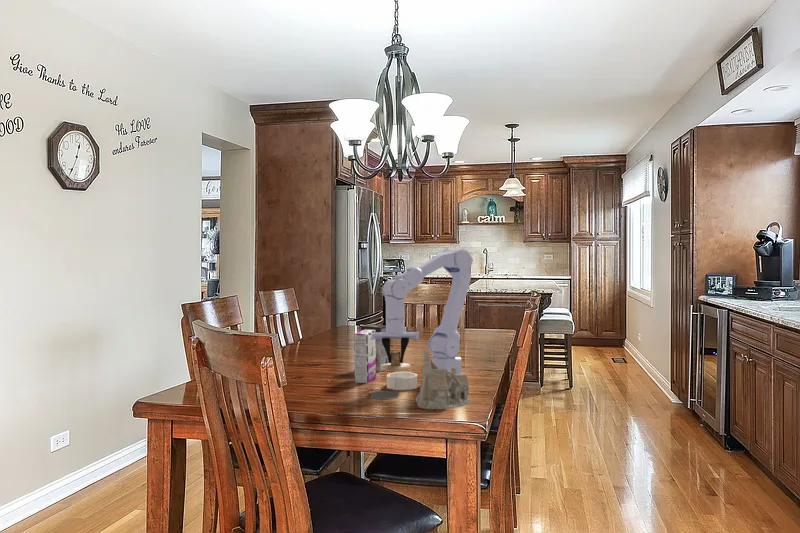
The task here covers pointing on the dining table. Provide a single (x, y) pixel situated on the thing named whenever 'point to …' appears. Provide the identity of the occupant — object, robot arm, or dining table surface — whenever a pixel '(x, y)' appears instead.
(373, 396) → the mat
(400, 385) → the bowl
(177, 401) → the dining table surface
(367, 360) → the candy bar box
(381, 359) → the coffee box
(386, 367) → the lid
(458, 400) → the ceramic cottage
